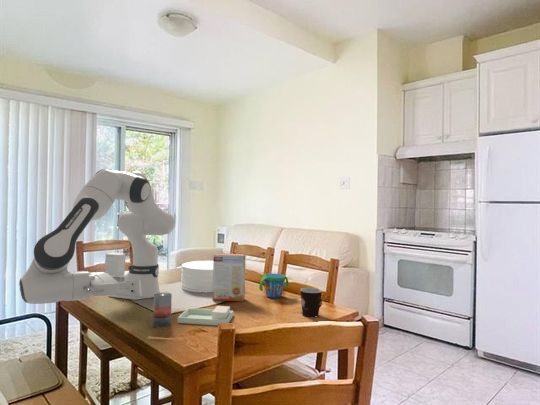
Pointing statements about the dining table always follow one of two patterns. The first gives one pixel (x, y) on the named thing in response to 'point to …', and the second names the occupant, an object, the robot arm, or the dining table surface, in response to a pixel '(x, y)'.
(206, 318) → the pale green tray
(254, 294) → the dining table surface
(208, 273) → the plate stack
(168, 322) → the tin
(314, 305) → the coffee mug
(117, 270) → the skincare box
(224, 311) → the white rectangular block
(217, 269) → the cracker box
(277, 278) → the snack cup
